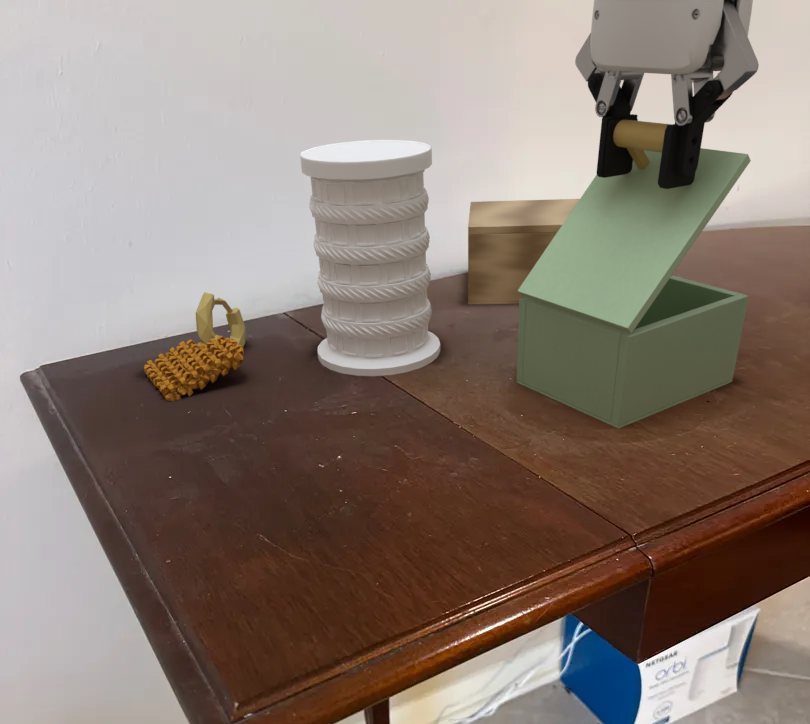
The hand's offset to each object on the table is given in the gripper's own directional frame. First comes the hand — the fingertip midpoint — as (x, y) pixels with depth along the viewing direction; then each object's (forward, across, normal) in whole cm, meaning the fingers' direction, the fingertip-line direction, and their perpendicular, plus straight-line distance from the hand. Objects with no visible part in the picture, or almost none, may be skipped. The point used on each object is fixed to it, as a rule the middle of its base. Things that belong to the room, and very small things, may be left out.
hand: (643, 177), depth 59 cm
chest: (+17, 0, -1) cm, 17 cm away
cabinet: (+16, +25, -13) cm, 32 cm away
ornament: (+18, +27, +25) cm, 41 cm away
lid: (+4, 0, +1) cm, 4 cm away
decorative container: (+17, +20, +11) cm, 28 cm away
